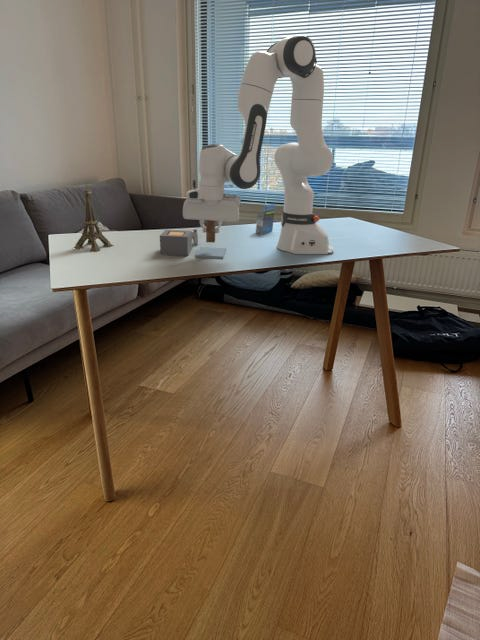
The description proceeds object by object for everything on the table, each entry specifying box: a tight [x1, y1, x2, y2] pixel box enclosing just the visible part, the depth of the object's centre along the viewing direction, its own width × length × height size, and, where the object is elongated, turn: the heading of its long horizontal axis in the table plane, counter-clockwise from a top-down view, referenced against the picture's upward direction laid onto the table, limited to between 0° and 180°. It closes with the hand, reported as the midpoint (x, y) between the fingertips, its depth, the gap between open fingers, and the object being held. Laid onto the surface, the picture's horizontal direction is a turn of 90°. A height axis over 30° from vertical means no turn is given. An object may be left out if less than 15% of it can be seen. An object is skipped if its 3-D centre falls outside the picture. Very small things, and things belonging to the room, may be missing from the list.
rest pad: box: [195, 246, 227, 259], centre depth 158 cm, size 10×12×1 cm
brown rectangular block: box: [205, 220, 217, 243], centre depth 155 cm, size 3×3×8 cm
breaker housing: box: [159, 229, 193, 257], centre depth 158 cm, size 10×10×7 cm
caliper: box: [192, 228, 199, 246], centre depth 176 cm, size 20×1×6 cm, turn 22°
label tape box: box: [255, 204, 275, 234], centre depth 194 cm, size 9×4×12 cm, turn 144°
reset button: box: [168, 232, 184, 236], centre depth 157 cm, size 5×5×3 cm
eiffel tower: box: [73, 179, 114, 253], centre depth 156 cm, size 11×11×25 cm
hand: (210, 232), depth 155 cm, fingers closed on brown rectangular block, 3 cm apart
